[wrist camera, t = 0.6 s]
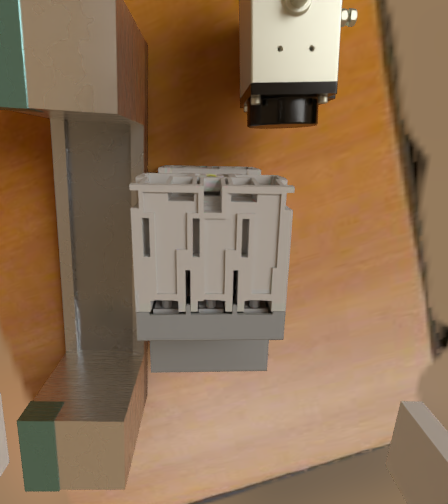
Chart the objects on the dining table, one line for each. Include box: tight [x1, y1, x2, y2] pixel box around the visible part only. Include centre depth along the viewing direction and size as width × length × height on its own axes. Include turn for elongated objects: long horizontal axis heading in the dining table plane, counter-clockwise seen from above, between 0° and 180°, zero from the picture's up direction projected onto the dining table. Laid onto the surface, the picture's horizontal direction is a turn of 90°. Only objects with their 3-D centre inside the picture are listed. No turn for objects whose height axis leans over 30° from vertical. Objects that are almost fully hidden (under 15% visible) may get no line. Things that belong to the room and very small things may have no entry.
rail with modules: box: [0, 0, 148, 491], centre depth 27 cm, size 32×7×11 cm, turn 177°
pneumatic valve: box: [239, 0, 357, 129], centre depth 23 cm, size 6×12×12 cm, turn 1°
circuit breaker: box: [129, 165, 295, 372], centre depth 25 cm, size 8×14×15 cm, turn 179°
